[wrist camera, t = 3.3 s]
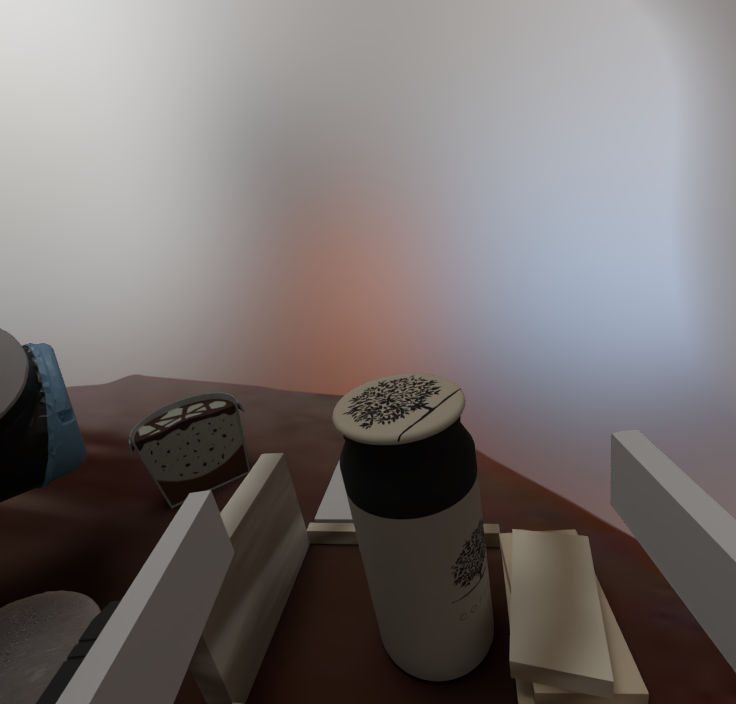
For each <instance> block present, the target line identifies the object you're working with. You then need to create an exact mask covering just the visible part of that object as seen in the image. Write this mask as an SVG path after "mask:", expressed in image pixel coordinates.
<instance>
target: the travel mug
mask: <svg viewBox="0 0 736 704" xmlns="http://www.w3.org/2000/svg"><path fill="white" fill-rule="evenodd" d="M464 407H465V396H464V393H463V391H462V390H461V388H460V387H459V386H458V385H456V384H455V383H453V382H452V381H450V380H448V379H445V378H442V377H439V376H435V375H429V374H400V375H393V376H388V377H384V378H380V379H376V380H373V381H370V382H367V383H365V384H363V385H361V386H359V387H357V388H355V389H353V390H352V391H350V392H349V393H347V394H346V395H345V396H344V397H343V398H342V399H341V400H340V401H339V402H338V403H337V405H336V407H335V409H334V411H333V423H334V425H335V427H336V428H337V430H338V431H339V432H340V433H341V434H342V435H343V436H344V439H345V444H344V447H343V450H342V453H341V456H340V470H341V474H342V478H343V482H344V486H345V490H346V494H347V498H348V503H349V507H350V511H351V515H352V519H353V523H354V527H355V531H356V535H357V539H358V544H359V548H360V552H361V556H362V560H363V564H364V568H365V572H366V576H367V581H368V585H369V589H370V593H371V597H372V601H373V605H374V609H375V613H376V618H377V622H378V626H379V630H380V634H381V638H382V642H383V645H384V647H385V649H386V651H387V653H388V655H389V656H390V658H391V659H392V660H393V661H394V662H395V663H396V664H397V665H398V666H399V667H400V668H401V669H402V670H404V671H405V672H407V673H409V674H410V675H412V676H415V677H417V678H420V679H424V680H429V681H447V680H452V679H456V678H459V677H461V676H463V675H465V674H467V673H469V672H470V671H472V670H473V669H474V668H476V667H477V666H478V665H479V664H480V663H481V662H482V660H483V659H484V658H485V656H486V655H487V653H488V651H489V649H490V647H491V644H492V641H493V636H494V620H493V610H492V601H491V592H490V583H489V573H488V564H487V555H486V546H485V536H484V527H483V518H482V509H481V499H480V490H479V481H478V472H477V462H476V453H475V444H474V441H473V439H472V437H471V435H470V434H469V432H468V431H467V430H466V429H465V427H464V426H463V425H462V424H461V422H460V415H461V414H462V412H463V410H464Z"/></svg>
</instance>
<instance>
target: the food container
mask: <svg viewBox="0 0 736 704" xmlns="http://www.w3.org/2000/svg"><path fill="white" fill-rule="evenodd" d="M238 409H240V410H242V411H243V412H245V411H244V409H243V408H242V406H241V404H240V403H239V401H237V400H236V398H235V397H234V396H232V395H230V394H227V393H206V394H200V395H195V396H191V397H188V398H184V399H181V400H178V401H176V402H173V403H171V404H168V405H166V406H164V407H162V408H160V409H158V410H156V411H154V412H153V413H151V414H149V415H148V416H146V417H145V418H143V419H142V420H141V421H140V422H139V423H137V424H136V425H135V426H134V428H133V429H132V430H131V433H130V436H129V438H130V440H129V447H130V453H131V456H132V455H133V451H134V449H136V451H137V453H138V454H139V456H140V458H141V459H142V461H143V463H144V464H145V466H146V468H147V469H148V471H149V473H150V474H151V476H152V478H153V479H154V481H155V483H156V484H157V486H158V488H159V489H160V491H161V493H162V494H163V496H164V498H165V499H166V501H167V503H168V504H169V506H170V508H171V509H172V508H174V507H177V506H179V505H181V504H183V503H184V501H185V500H186V498H187V497H188V495H189V493H194V492H201V491H208V490H211V491H212V490H214V489H216V488H219V487H221V486H223V485H225V484H227V483H230V482H232V481H234V480H236V479H239V478H241V477H243V476H245V475H247V474H248V473H249V472H250V466H249V461H248V456H247V451H246V446H245V441H244V436H243V431H242V426H241V421H240V415H239V410H238Z"/></svg>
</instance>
